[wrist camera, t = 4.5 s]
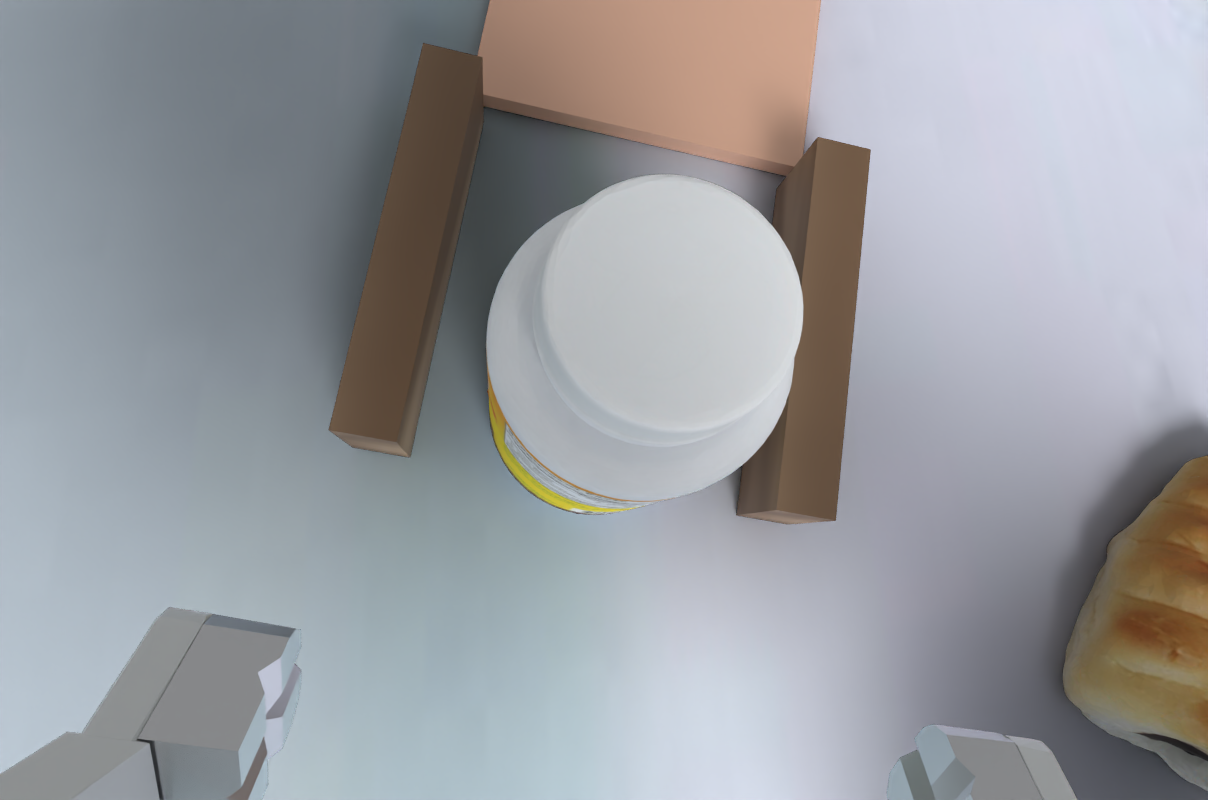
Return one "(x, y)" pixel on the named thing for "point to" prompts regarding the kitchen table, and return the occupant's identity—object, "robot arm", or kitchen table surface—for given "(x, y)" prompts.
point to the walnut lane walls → (426, 252)
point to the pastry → (1151, 631)
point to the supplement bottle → (641, 345)
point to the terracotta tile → (660, 72)
